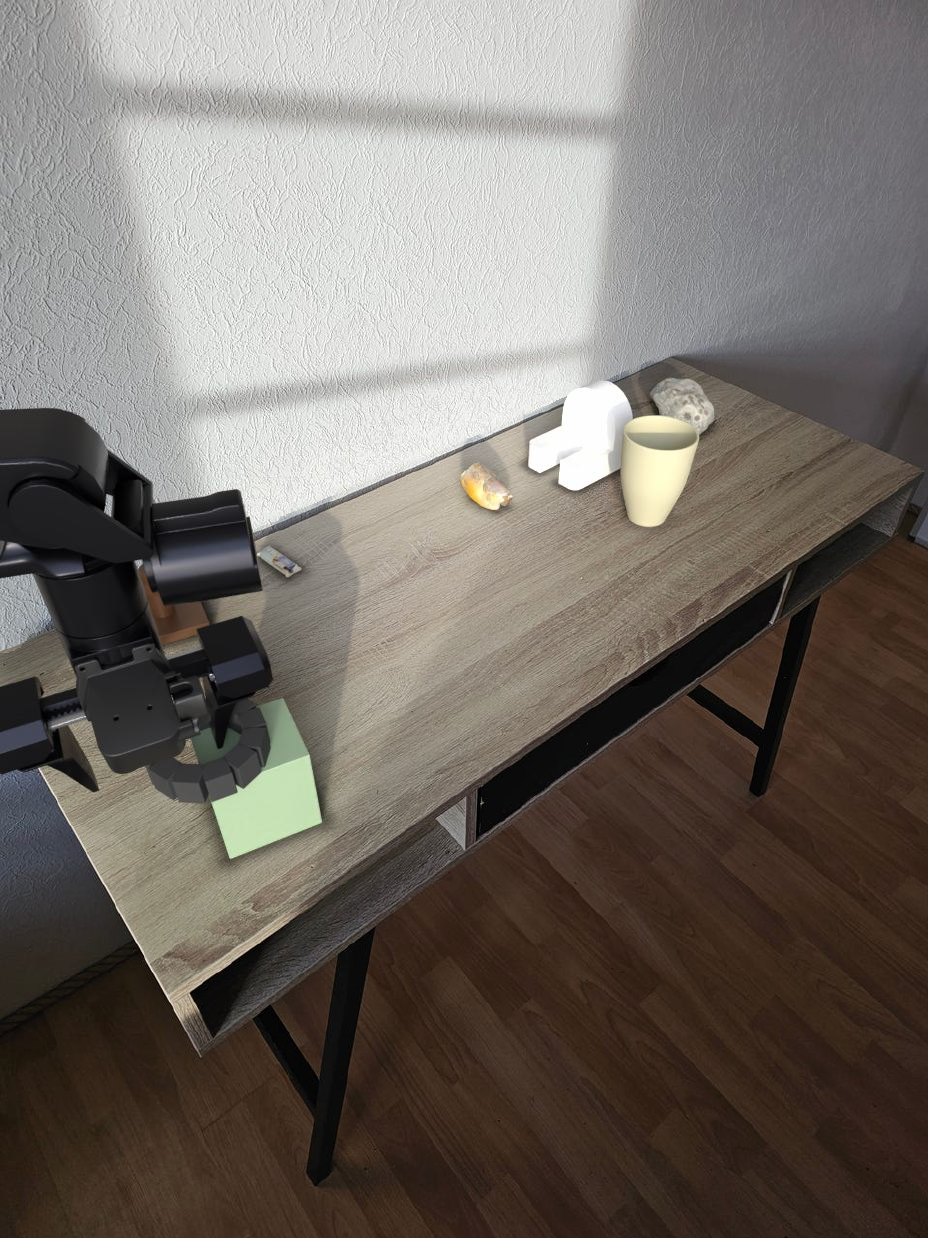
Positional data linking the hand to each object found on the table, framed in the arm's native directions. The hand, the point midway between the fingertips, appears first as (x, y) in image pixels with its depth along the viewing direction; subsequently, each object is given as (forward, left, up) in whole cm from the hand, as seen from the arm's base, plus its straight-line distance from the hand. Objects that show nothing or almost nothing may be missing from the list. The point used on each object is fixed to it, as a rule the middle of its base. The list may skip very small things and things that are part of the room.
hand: (158, 765), depth 62 cm
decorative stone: (+85, +42, -10) cm, 96 cm away
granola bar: (+18, +33, -10) cm, 39 cm away
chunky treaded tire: (+4, 0, -1) cm, 4 cm away
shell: (+47, +34, -10) cm, 59 cm away
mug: (+64, +23, -10) cm, 69 cm away
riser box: (+7, 0, -10) cm, 12 cm away
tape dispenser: (+66, +38, -10) cm, 77 cm away
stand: (+4, +29, -10) cm, 31 cm away
